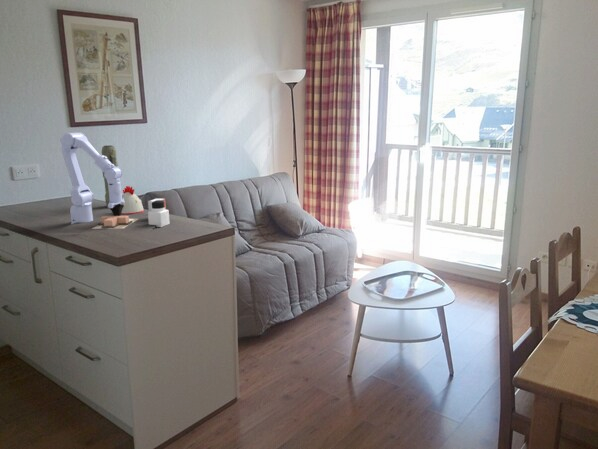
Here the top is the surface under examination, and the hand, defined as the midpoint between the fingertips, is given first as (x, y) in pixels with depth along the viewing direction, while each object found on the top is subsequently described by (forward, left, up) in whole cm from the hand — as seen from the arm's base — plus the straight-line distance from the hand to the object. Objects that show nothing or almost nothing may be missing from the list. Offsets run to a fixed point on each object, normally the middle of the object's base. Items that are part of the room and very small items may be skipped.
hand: (118, 219), depth 231 cm
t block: (0, -5, -1) cm, 5 cm away
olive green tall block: (-21, +46, -2) cm, 50 cm away
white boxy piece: (+17, +9, -2) cm, 19 cm away
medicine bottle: (+21, -2, -2) cm, 21 cm away
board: (0, -3, -2) cm, 3 cm away
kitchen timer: (-4, +25, -2) cm, 26 cm away
